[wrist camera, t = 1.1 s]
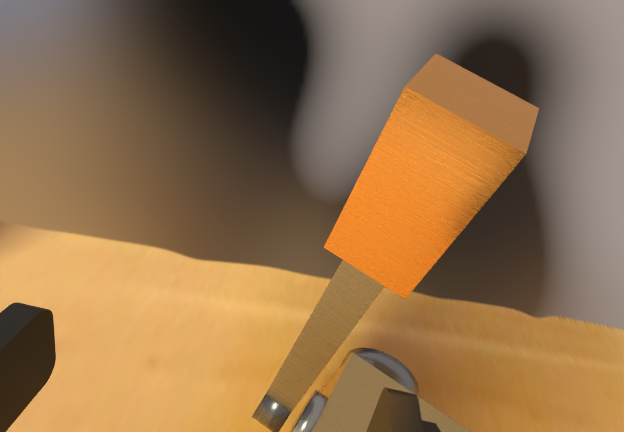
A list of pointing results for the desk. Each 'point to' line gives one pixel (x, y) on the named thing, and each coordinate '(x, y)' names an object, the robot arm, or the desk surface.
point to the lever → (407, 208)
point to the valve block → (363, 395)
